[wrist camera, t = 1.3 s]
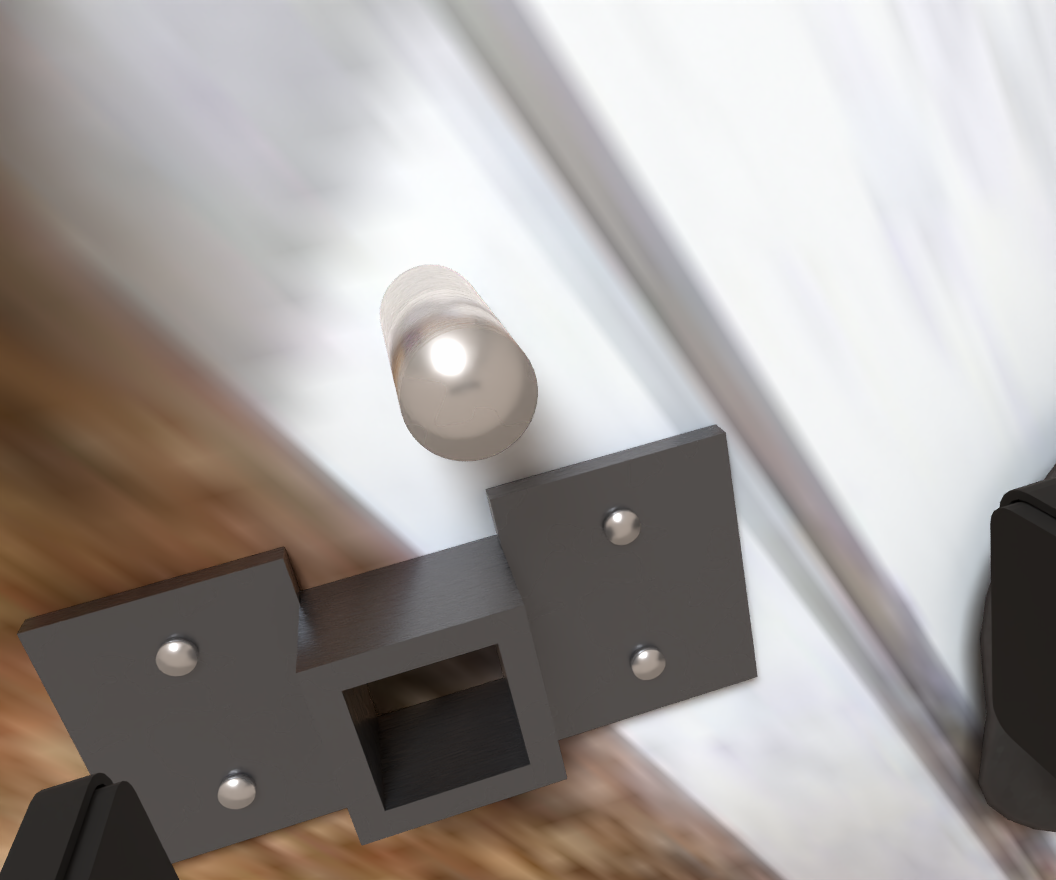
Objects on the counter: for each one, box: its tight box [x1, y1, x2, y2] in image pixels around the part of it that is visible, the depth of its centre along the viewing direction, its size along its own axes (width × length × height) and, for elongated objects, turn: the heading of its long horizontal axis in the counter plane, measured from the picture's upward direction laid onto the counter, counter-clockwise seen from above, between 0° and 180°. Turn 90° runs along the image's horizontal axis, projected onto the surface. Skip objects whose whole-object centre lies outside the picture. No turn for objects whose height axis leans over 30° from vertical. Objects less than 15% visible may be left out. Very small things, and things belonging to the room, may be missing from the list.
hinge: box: [17, 424, 757, 864], centre depth 28 cm, size 23×10×4 cm, turn 102°
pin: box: [380, 265, 538, 461], centre depth 23 cm, size 3×3×8 cm
